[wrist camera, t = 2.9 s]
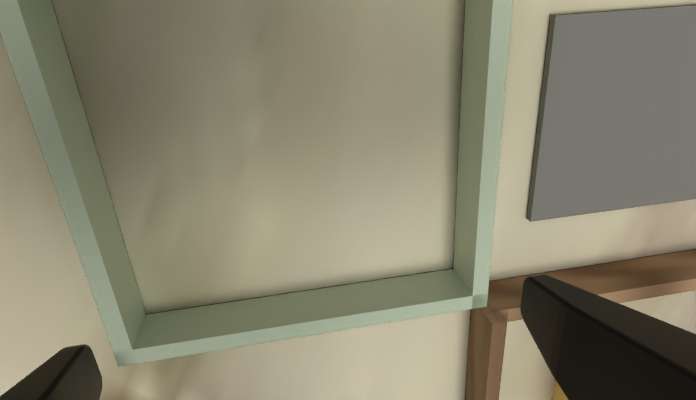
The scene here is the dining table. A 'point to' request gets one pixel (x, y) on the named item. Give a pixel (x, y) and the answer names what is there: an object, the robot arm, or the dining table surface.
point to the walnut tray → (601, 279)
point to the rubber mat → (616, 112)
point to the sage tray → (279, 310)
